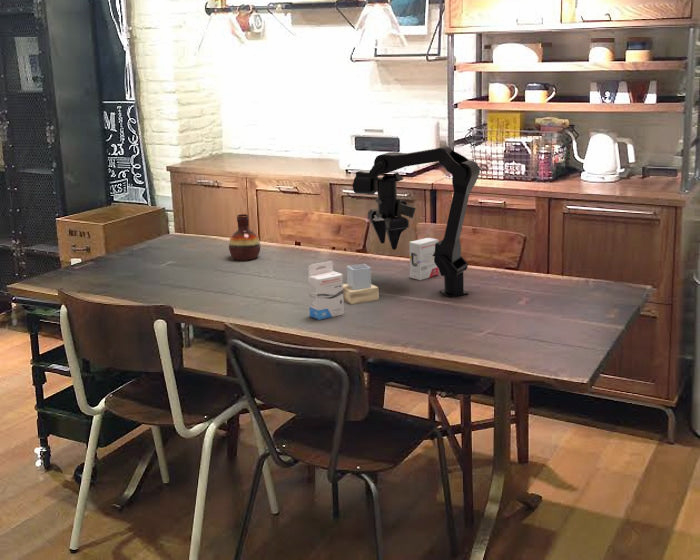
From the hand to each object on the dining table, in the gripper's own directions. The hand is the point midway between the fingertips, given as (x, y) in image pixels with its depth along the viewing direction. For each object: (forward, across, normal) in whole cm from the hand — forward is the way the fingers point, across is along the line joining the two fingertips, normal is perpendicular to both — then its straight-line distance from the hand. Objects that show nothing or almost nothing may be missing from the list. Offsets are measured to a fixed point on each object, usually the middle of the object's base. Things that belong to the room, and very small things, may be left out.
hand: (388, 246), depth 267 cm
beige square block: (+13, -8, +13) cm, 20 cm away
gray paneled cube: (+9, -8, +13) cm, 18 cm away
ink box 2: (+13, +5, -14) cm, 20 cm away
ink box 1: (+13, -20, +27) cm, 35 cm away
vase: (+13, +56, +32) cm, 66 cm away
